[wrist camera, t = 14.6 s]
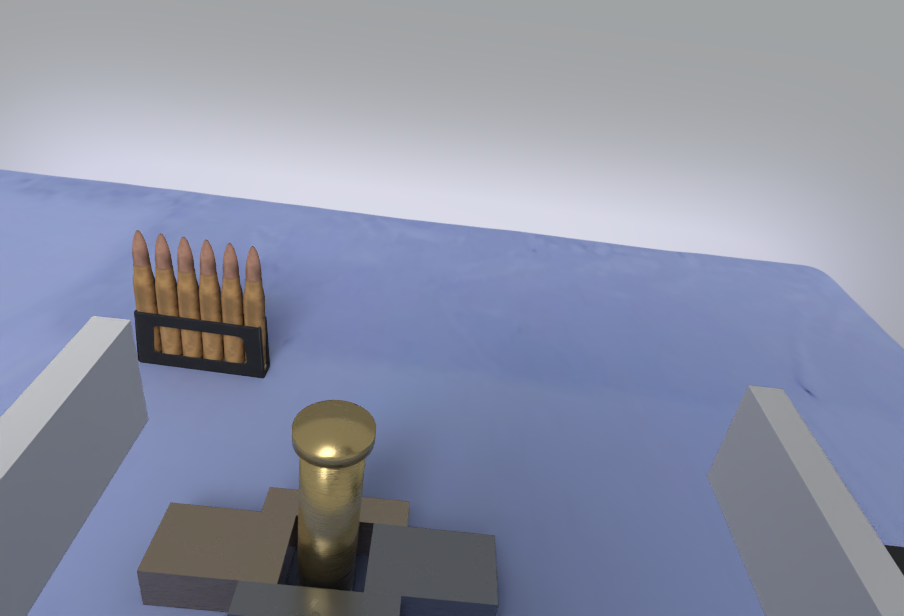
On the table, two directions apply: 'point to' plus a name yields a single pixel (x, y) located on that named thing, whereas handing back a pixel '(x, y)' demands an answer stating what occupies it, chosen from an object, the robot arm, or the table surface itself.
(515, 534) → the table surface
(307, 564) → the link pin
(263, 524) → the chain joint
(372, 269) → the table surface
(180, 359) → the ammunition clip
